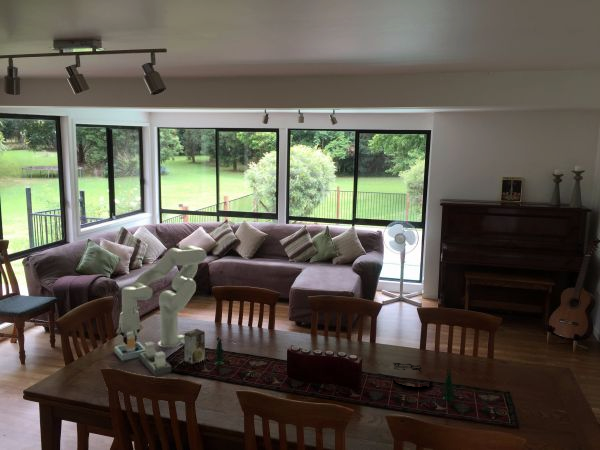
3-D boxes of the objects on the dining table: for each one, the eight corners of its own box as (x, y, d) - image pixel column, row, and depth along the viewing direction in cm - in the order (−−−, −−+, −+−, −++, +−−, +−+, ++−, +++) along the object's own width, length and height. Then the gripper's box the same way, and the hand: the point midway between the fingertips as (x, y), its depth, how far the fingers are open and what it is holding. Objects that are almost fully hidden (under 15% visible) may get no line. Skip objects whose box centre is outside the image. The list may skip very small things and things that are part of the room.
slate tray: (138, 348, 281) (138, 341, 280) (146, 356, 270) (146, 349, 270) (114, 353, 273) (114, 346, 273) (121, 362, 263) (121, 355, 262)
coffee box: (196, 356, 273) (196, 328, 270) (205, 360, 269) (205, 331, 266) (184, 362, 265) (183, 333, 263) (192, 365, 262) (192, 336, 259)
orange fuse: (132, 347, 274) (132, 332, 273) (135, 350, 271) (134, 334, 269) (125, 349, 272) (125, 333, 270) (127, 351, 268) (127, 335, 267)
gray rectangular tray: (154, 356, 271) (154, 349, 270) (171, 373, 252) (171, 366, 251) (139, 360, 266) (139, 353, 265) (154, 377, 247) (154, 369, 247)
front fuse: (162, 368, 256) (162, 351, 254) (165, 371, 252) (165, 354, 251) (154, 369, 253) (154, 353, 252) (157, 372, 250) (157, 355, 249)
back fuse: (152, 357, 268) (152, 341, 266) (154, 360, 264) (154, 343, 263) (144, 359, 265) (144, 342, 264) (147, 361, 262) (147, 345, 261)
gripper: (142, 305, 276) (143, 337, 278) (111, 310, 266) (112, 343, 269) (147, 309, 270) (147, 341, 273) (115, 314, 260) (116, 348, 263)
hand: (130, 342), depth 271 cm, fingers closed on orange fuse, 4 cm apart
